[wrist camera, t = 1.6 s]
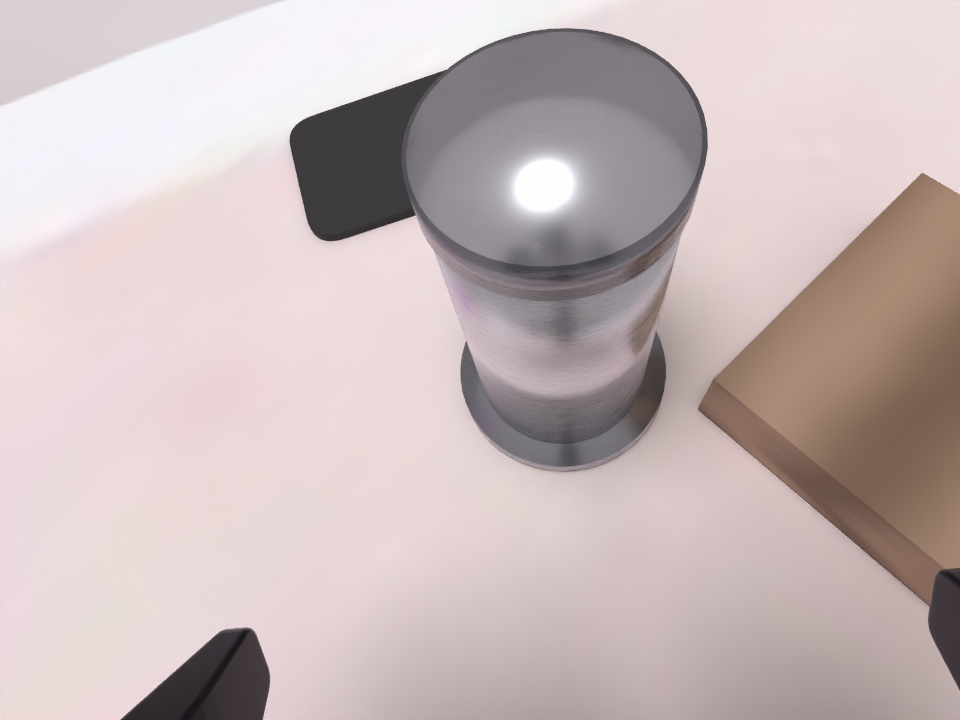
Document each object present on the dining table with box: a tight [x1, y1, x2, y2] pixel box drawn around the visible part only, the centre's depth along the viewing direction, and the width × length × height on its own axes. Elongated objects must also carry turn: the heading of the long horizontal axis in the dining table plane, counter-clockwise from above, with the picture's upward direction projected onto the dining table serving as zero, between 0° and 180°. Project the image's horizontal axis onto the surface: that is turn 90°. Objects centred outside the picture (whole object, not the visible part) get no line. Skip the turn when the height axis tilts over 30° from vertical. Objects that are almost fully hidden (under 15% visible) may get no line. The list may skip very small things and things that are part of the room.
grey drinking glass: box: [401, 28, 708, 472], centre depth 19 cm, size 8×8×13 cm
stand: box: [698, 173, 960, 606], centre depth 22 cm, size 11×11×3 cm
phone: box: [290, 70, 446, 241], centre depth 31 cm, size 7×1×15 cm
